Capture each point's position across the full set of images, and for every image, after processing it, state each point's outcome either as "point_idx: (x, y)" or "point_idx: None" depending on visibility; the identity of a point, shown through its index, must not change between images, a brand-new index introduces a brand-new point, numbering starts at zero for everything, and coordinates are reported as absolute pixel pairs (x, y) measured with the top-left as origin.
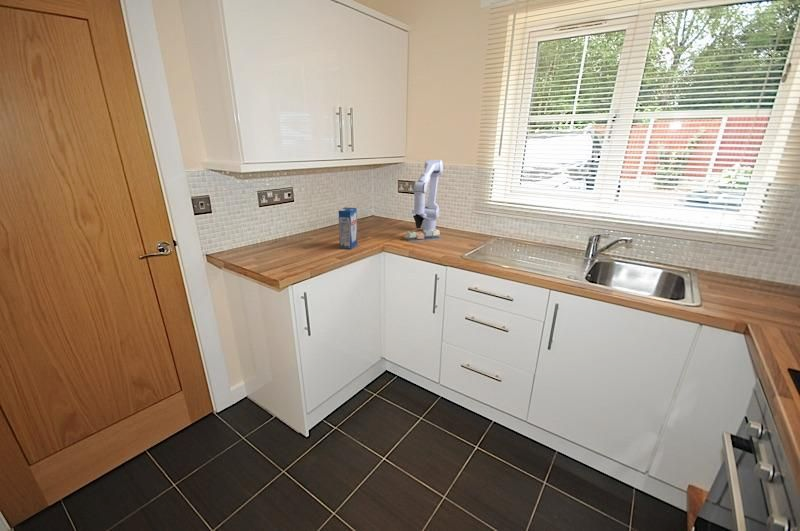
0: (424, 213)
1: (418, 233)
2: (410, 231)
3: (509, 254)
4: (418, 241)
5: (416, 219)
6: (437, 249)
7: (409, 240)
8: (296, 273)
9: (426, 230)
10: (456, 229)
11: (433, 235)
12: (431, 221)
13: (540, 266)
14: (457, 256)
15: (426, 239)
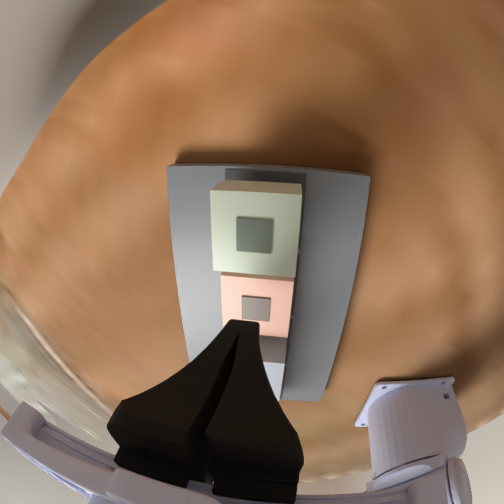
0: (71, 487)
1: (264, 304)
2: (295, 239)
3: (54, 400)
4: (177, 231)
5: (168, 394)
6: (64, 267)
7: (225, 169)
8: None
9: (270, 383)
10: (359, 471)
11: (298, 392)
12: (379, 465)
13: (5, 373)
14: (7, 281)
15: (216, 314)
